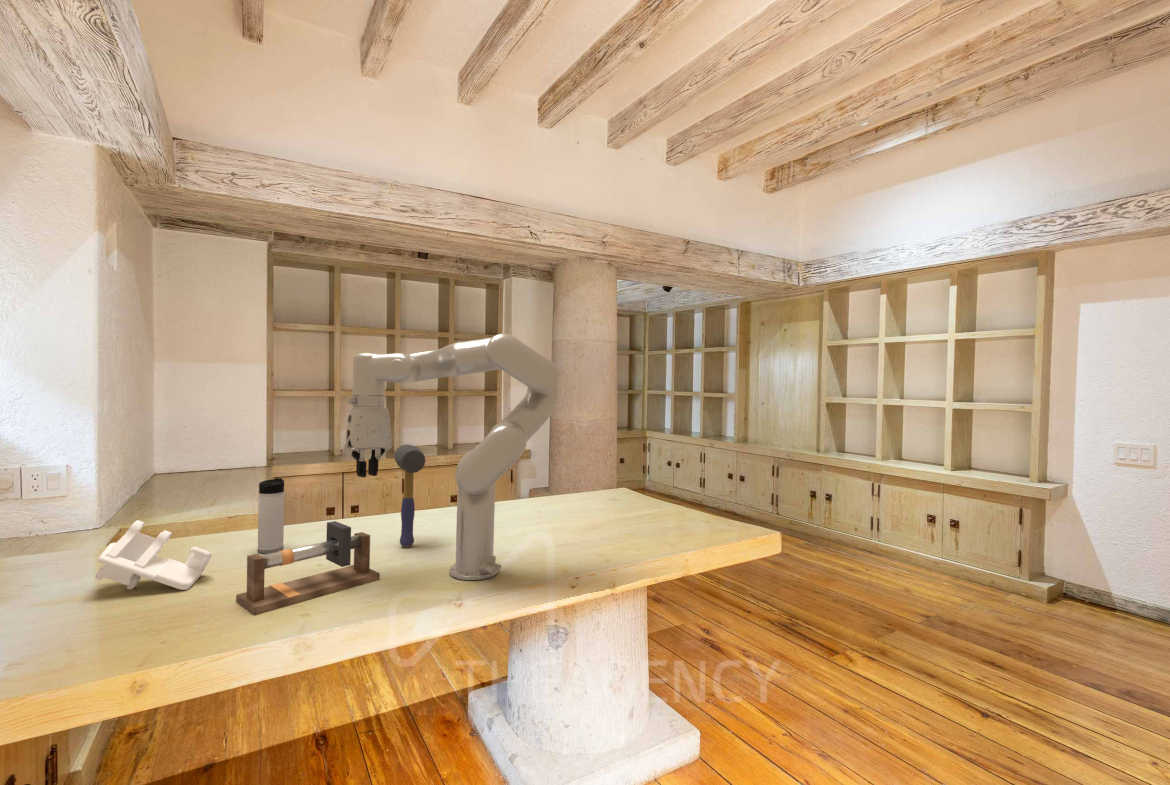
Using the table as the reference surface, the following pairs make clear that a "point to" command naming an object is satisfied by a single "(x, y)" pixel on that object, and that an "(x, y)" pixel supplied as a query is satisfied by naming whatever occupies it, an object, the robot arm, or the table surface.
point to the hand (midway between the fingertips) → (367, 475)
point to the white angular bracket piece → (149, 561)
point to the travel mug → (271, 516)
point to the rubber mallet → (408, 488)
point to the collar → (340, 543)
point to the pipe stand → (306, 587)
